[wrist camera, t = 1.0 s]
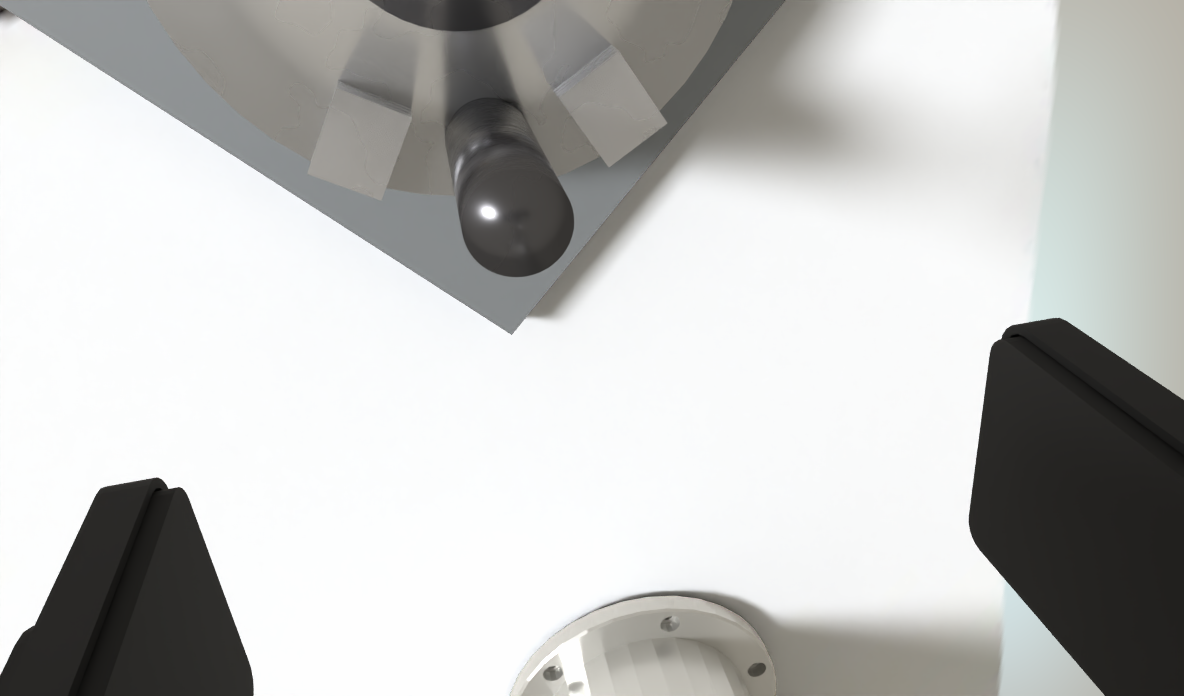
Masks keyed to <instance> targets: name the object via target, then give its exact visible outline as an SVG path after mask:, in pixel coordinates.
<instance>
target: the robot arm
mask: <svg viewBox="0 0 1184 696" xmlns="http://www.w3.org/2000/svg"><path fill="white" fill-rule="evenodd" d="M969 527H970V532H971V535H972V538H973V540H974V542H975V544H976V545H977V547H978V548H979V550H980V551H981V552H982V553H983V554H984V555H985V557H986V558H987V559H988V560H989V561H990V562H991V564H992V565H993V566H994V567H995V568H996V569H997V571H998V572H999V573H1000V574H1001V575H1002V576H1003V578H1004V579H1005V580H1006V581H1007V582H1008V583H1009V585H1010V586H1011V587H1012V588H1013V589H1014V590H1015V591H1016V593H1017V594H1018V595H1019V596H1020V597H1021V598H1022V600H1023V601H1024V602H1025V603H1026V604H1027V605H1028V607H1029V608H1030V609H1031V610H1032V611H1033V612H1034V614H1035V615H1036V616H1037V617H1038V618H1039V619H1040V621H1041V622H1042V623H1043V624H1044V625H1045V626H1046V628H1047V629H1048V630H1049V631H1050V632H1051V633H1052V635H1053V636H1054V637H1055V638H1056V639H1057V640H1058V642H1059V643H1060V644H1061V645H1062V646H1063V647H1064V649H1065V650H1066V651H1067V652H1068V653H1069V654H1070V655H1071V656H1072V658H1073V659H1074V660H1075V661H1076V662H1077V664H1078V665H1079V666H1080V667H1081V668H1082V669H1083V671H1084V672H1085V673H1086V674H1087V675H1088V676H1089V678H1090V679H1091V680H1092V681H1093V682H1094V683H1095V684H1096V686H1097V687H1098V688H1099V689H1100V690H1101V692H1102V693H1103V694H1104V695H1105V696H1184V400H1183V399H1181V398H1180V397H1178V396H1177V395H1175V394H1174V393H1172V392H1171V391H1170V390H1168V389H1167V388H1165V387H1164V386H1162V385H1161V384H1159V383H1158V382H1156V381H1155V380H1153V379H1152V378H1150V377H1149V376H1147V375H1146V374H1144V373H1143V372H1141V371H1139V370H1138V369H1137V368H1135V367H1134V366H1132V365H1131V364H1129V363H1128V362H1127V361H1125V360H1124V359H1122V358H1121V357H1119V356H1117V355H1116V354H1115V353H1113V352H1111V351H1110V350H1109V349H1107V348H1106V347H1104V346H1103V345H1101V344H1100V343H1098V342H1097V341H1095V340H1094V339H1092V338H1091V337H1089V336H1088V335H1086V334H1085V333H1083V332H1082V331H1081V330H1079V329H1078V328H1076V327H1075V326H1073V325H1072V324H1070V323H1069V322H1067V321H1065V320H1063V319H1061V318H1052V319H1046V320H1040V321H1034V322H1029V323H1023V324H1017V325H1012V326H1010V327H1009V328H1007V329H1006V330H1005V332H1004V334H1003V335H1002V339H1001V340H998V341H996V342H995V343H994V344H993V346H992V348H991V352H990V357H989V365H988V373H987V380H986V388H985V396H984V404H983V411H982V419H981V427H980V434H979V442H978V450H977V458H976V465H975V473H974V481H973V488H972V496H971V504H970V512H969ZM776 685H777V682H776V676H775V670H774V665H773V663H772V661H771V658H770V656H769V654H768V651H767V649H766V647H765V645H764V643H763V642H762V640H761V638H760V637H759V635H758V634H757V632H756V631H755V629H754V628H753V627H752V626H751V625H749V624H748V623H747V622H746V621H745V620H744V619H743V618H742V617H741V616H739V615H738V614H736V613H734V612H732V611H730V610H729V609H727V608H725V607H723V606H721V605H718V604H715V603H712V602H708V601H705V600H702V599H697V598H689V597H681V596H653V597H644V598H639V599H634V600H628V601H623V602H619V603H617V604H614V605H611V606H608V607H605V608H602V609H599V610H596V611H594V612H592V613H590V614H588V615H586V616H584V617H582V618H580V619H578V620H576V621H574V622H572V623H571V624H569V625H568V626H566V627H565V628H563V629H562V630H561V631H559V632H558V633H556V634H555V635H554V636H552V637H551V638H549V639H548V640H547V641H546V642H545V643H544V644H543V645H542V646H541V647H540V648H539V649H538V650H537V651H536V652H535V653H534V654H533V655H532V656H531V658H530V659H529V661H528V662H527V663H526V665H525V666H524V668H523V669H522V671H521V672H520V673H519V675H518V677H517V679H516V682H515V684H514V686H513V689H512V691H511V693H510V696H775V695H776ZM0 696H253V677H252V671H251V667H250V664H249V661H248V658H247V655H246V653H245V650H244V647H243V645H242V642H241V639H240V636H239V634H238V631H237V628H236V626H235V623H234V620H233V617H232V615H231V612H230V609H229V607H228V604H227V601H226V598H225V596H224V593H223V590H222V588H221V585H220V582H219V579H218V577H217V574H216V571H215V569H214V566H213V563H212V560H211V558H210V555H209V552H208V550H207V547H206V544H205V541H204V539H203V536H202V533H201V531H200V528H199V525H198V522H197V520H196V517H195V514H194V512H193V509H192V506H191V503H190V501H189V498H188V496H187V494H186V492H185V491H184V490H183V489H182V488H180V487H178V488H172V489H168V487H167V485H166V484H165V483H164V481H163V480H162V479H160V478H152V479H146V480H141V481H135V482H129V483H124V484H118V485H112V486H107V487H103V488H101V489H100V490H99V491H98V493H97V494H96V496H95V498H94V500H93V502H92V505H91V507H90V509H89V511H88V513H87V515H86V517H85V519H84V522H83V524H82V526H81V528H80V530H79V532H78V534H77V537H76V539H75V541H74V543H73V545H72V547H71V549H70V551H69V554H68V556H67V558H66V560H65V562H64V564H63V566H62V569H61V571H60V573H59V575H58V577H57V579H56V581H55V583H54V586H53V588H52V590H51V592H50V594H49V596H48V598H47V601H46V603H45V605H44V607H43V609H42V611H41V613H40V615H39V618H38V620H37V622H36V624H35V626H32V627H31V628H29V629H28V630H26V631H25V632H23V634H22V635H21V637H20V638H19V640H18V641H17V643H16V644H15V646H14V648H13V650H12V652H11V655H10V657H9V659H8V661H7V663H6V665H5V667H4V669H3V671H2V673H1V675H0Z"/></svg>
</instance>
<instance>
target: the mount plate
mask: <svg viewBox="0 0 1184 696" xmlns="http://www.w3.org/2000/svg"><path fill="white" fill-rule="evenodd" d="M784 1H785V0H733V1H732V4H731V6H730V9H729V11H728V14H727V16H726V18H725V20H724V22H723V24H722V25H721V27H720V29H719V31H718V33H717V34H716V36H715V38H714V40H713V42H712V44H711V45H710V47H709V49H708V51H707V53H706V54H705V55H704V57H703V58H702V60H701V61H700V62H699V64H698V65H697V67H696V68H695V69H694V71H693V72H692V74H691V75H690V76H689V78H688V79H687V81H686V82H685V83H684V85H683V86H682V87H681V88H680V89H679V90H678V91H677V92H676V93H675V94H674V96H673V97H672V98H671V99H670V100H669V101H668V102H667V103H666V104H665V105H664V107H663V108H662V109H661V110H660V113H661V114H662V116H663V117H664V119H665V120H666V122H667V124H666V125H665V126H663V127H662V128H661V129H659V130H658V131H657V132H655V133H654V134H653V135H651V136H650V137H649V138H647V139H646V140H645V141H643V142H642V143H641V144H639V145H638V146H637V147H635V148H634V149H633V150H632V151H630V152H629V153H628V154H626V155H625V156H624V157H622V158H621V159H620V160H618V161H617V162H616V163H614V164H613V165H612V166H610V167H608V166H607V164H606V163H605V162H604V160H603V159H602V157H601V156H600V157H598V158H596V159H594V160H592V161H590V162H588V163H586V164H584V165H582V166H580V167H578V168H576V169H574V170H572V171H570V172H568V173H566V174H563V175H560V176H557V178H558V179H559V181H560V183H561V185H562V187H563V189H564V191H565V192H566V194H567V196H568V198H569V200H570V202H571V205H572V208H573V213H574V231H573V235H572V238H571V241H570V244H569V245H568V247H567V249H566V251H565V252H564V254H563V255H562V256H561V257H560V258H559V259H558V261H556V262H555V263H554V264H553V265H552V266H550V267H549V268H547V269H546V270H544V271H542V272H540V273H537V274H534V275H530V276H526V277H507V276H502V275H499V274H496V273H493V272H491V271H489V270H487V269H486V268H484V267H483V266H482V265H480V264H479V263H478V262H477V261H476V260H475V259H474V258H473V257H472V255H471V254H470V252H469V251H468V249H467V247H466V245H465V242H464V239H463V235H462V230H461V225H460V220H459V214H458V209H457V204H456V199H455V196H448V195H425V194H417V193H411V192H405V191H399V190H393V189H387V188H386V190H385V192H384V195H383V198H382V200H378V199H375V198H372V197H370V196H367V195H364V194H361V193H358V192H356V191H353V190H350V189H347V188H345V187H342V186H339V185H336V184H333V183H331V182H328V181H325V180H322V179H320V178H317V177H314V176H311V175H308V174H307V173H308V169H309V166H310V163H311V161H309V160H307V159H306V158H304V157H302V156H300V155H299V154H297V153H295V152H294V151H292V150H290V149H289V148H287V147H285V146H283V145H282V144H280V143H278V142H277V141H275V140H273V139H272V138H270V137H269V136H268V135H266V134H265V133H264V132H262V131H261V130H260V129H259V128H257V127H256V126H255V125H253V124H252V123H251V122H249V121H248V120H247V119H245V118H244V117H243V116H241V115H240V114H239V113H238V112H237V111H235V110H234V109H233V108H232V107H231V106H230V105H229V104H228V103H227V102H226V101H225V100H224V99H223V98H222V97H221V96H220V95H219V94H218V93H217V92H215V91H214V90H213V89H212V88H211V87H210V86H209V85H208V84H207V83H206V82H205V81H204V79H203V78H202V77H201V76H200V75H199V73H198V72H197V71H196V70H195V69H194V67H193V66H192V65H191V64H190V63H189V61H188V60H187V59H186V58H185V57H184V55H183V54H182V53H181V52H180V51H179V49H178V48H177V47H176V46H175V44H174V42H173V41H172V39H171V38H170V36H169V35H168V33H167V32H166V30H165V29H164V27H163V26H162V24H161V23H160V21H159V20H158V18H157V17H156V15H155V14H154V12H153V11H152V9H151V8H150V6H149V4H148V2H147V0H0V6H2V7H4V8H5V9H7V10H8V11H10V12H11V13H13V14H14V15H16V16H18V17H19V18H21V19H22V20H24V21H25V22H27V23H28V24H30V25H32V26H33V27H35V28H36V29H38V30H39V31H41V32H42V33H44V34H46V35H47V36H49V37H50V38H52V39H53V40H55V41H56V42H58V43H59V44H61V45H63V46H64V47H66V48H67V49H69V50H70V51H72V52H73V53H75V54H77V55H78V56H80V57H81V58H83V59H84V60H86V61H87V62H89V63H91V64H92V65H94V66H95V67H97V68H98V69H100V70H101V71H103V72H105V73H106V74H108V75H109V76H111V77H112V78H114V79H115V80H117V81H118V82H120V83H122V84H123V85H125V86H126V87H128V88H129V89H131V90H132V91H134V92H136V93H137V94H139V95H140V96H142V97H143V98H145V99H146V100H148V101H150V102H151V103H153V104H154V105H156V106H157V107H159V108H160V109H162V110H164V111H165V112H167V113H168V114H170V115H171V116H173V117H174V118H176V119H177V120H179V121H181V122H182V123H184V124H185V125H187V126H188V127H190V128H191V129H193V130H195V131H196V132H198V133H199V134H201V135H202V136H204V137H205V138H207V139H209V140H210V141H212V142H213V143H215V144H216V145H218V146H219V147H221V148H223V149H224V150H226V151H227V152H229V153H230V154H232V155H233V156H235V157H236V158H238V159H240V160H241V161H243V162H244V163H246V164H247V165H249V166H250V167H252V168H254V169H255V170H257V171H258V172H260V173H261V174H263V175H264V176H266V177H268V178H269V179H271V180H272V181H274V182H275V183H277V184H278V185H280V186H282V187H283V188H285V189H286V190H288V191H289V192H291V193H292V194H294V195H295V196H297V197H299V198H300V199H302V200H303V201H305V202H306V203H308V204H309V205H311V206H313V207H314V208H316V209H317V210H319V211H320V212H322V213H323V214H325V215H327V216H328V217H330V218H331V219H333V220H334V221H336V222H337V223H339V224H341V225H342V226H344V227H345V228H347V229H348V230H350V231H351V232H353V233H354V234H356V235H358V236H359V237H361V238H362V239H364V240H365V241H367V242H368V243H370V244H372V245H373V246H375V247H376V248H378V249H379V250H381V251H382V252H384V253H386V254H387V255H389V256H390V257H392V258H393V259H395V260H396V261H398V262H400V263H401V264H403V265H404V266H406V267H407V268H409V269H410V270H412V271H414V272H415V273H417V274H418V275H420V276H421V277H423V278H424V279H426V280H427V281H429V282H431V283H432V284H434V285H435V286H437V287H438V288H440V289H441V290H443V291H445V292H446V293H448V294H449V295H451V296H452V297H454V298H455V299H457V300H459V301H460V302H462V303H463V304H465V305H466V306H468V307H469V308H471V309H473V310H474V311H476V312H477V313H479V314H480V315H482V316H483V317H485V318H486V319H488V320H490V321H491V322H493V323H494V324H496V325H497V326H499V327H500V328H502V329H504V330H505V331H507V332H508V333H510V334H511V335H512V334H513V333H514V331H515V330H516V329H517V328H518V327H519V325H520V324H521V323H522V322H523V320H524V319H525V318H526V317H527V316H528V314H529V313H530V312H531V311H532V309H533V308H534V307H535V306H536V305H537V303H538V302H539V301H540V300H541V298H542V297H543V296H544V295H545V294H546V292H547V291H548V290H549V289H550V287H551V286H552V285H553V284H554V283H555V281H556V280H557V279H558V278H559V276H560V275H561V274H562V273H563V272H564V270H565V269H566V268H567V267H568V265H569V264H570V263H571V262H572V261H573V259H574V258H575V257H576V256H577V254H578V253H579V252H580V251H581V250H582V248H583V247H584V246H585V245H586V243H587V242H588V241H589V240H590V238H591V237H592V236H593V235H594V234H595V232H596V231H597V230H598V229H599V227H600V226H601V225H602V224H603V223H604V221H605V220H606V219H607V218H608V216H609V215H610V214H611V213H612V212H613V210H614V209H615V208H616V207H617V205H618V204H619V203H620V202H621V201H622V199H623V198H624V197H625V196H626V194H627V193H628V192H629V191H630V190H631V188H632V187H633V186H634V185H635V183H636V182H637V181H638V180H639V179H640V177H641V176H642V175H643V174H644V172H645V171H646V170H647V169H648V168H649V166H650V165H651V164H652V163H653V161H654V160H655V159H656V158H657V157H658V155H659V154H660V153H661V152H662V150H663V149H664V148H665V147H666V146H667V144H668V143H669V142H670V141H671V139H672V138H673V137H674V136H675V135H676V133H677V132H678V131H679V130H680V128H681V127H682V126H683V125H684V124H685V122H686V121H687V120H688V119H689V117H690V116H691V115H692V114H693V113H694V111H695V110H696V109H697V108H698V106H699V105H700V104H701V103H702V102H703V100H704V99H705V98H706V97H707V95H708V94H709V93H710V92H711V91H712V89H713V88H714V87H715V86H716V84H717V83H718V82H719V81H720V79H721V78H722V77H723V76H724V75H725V73H726V72H727V71H728V70H729V68H730V67H731V66H732V65H733V64H734V62H735V61H736V60H737V59H738V57H739V56H740V55H741V54H742V53H743V51H744V50H745V49H746V48H747V46H748V45H749V44H750V43H751V42H752V40H753V39H754V38H755V37H756V35H757V34H758V33H759V32H760V31H761V29H762V28H763V27H764V26H765V24H766V23H767V22H768V21H769V20H770V18H771V17H772V16H773V15H774V13H775V12H776V11H777V10H778V9H779V7H780V6H781V5H782V4H783V2H784Z"/></svg>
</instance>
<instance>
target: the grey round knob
mask: <svg viewBox="0 0 1184 696" xmlns="http://www.w3.org/2000/svg"><path fill="white" fill-rule="evenodd" d="M732 1H733V0H147V2H148V4H149V6H150V8H151V9H152V11H153V12H154V14H155V15H156V17H157V18H158V20H159V21H160V23H161V24H162V26H163V27H164V29H165V30H166V32H167V33H168V35H169V36H170V38H171V39H172V41H173V42H174V44H175V46H176V47H177V48H178V49H179V51H180V52H181V53H182V54H183V55H184V57H185V58H186V59H187V60H188V61H189V63H190V64H191V65H192V66H193V67H194V69H195V70H196V71H197V72H198V73H199V75H200V76H201V77H202V78H203V79H204V81H205V82H206V83H207V84H208V85H209V86H210V87H211V88H212V89H213V90H214V91H215V92H217V93H218V94H219V95H220V96H221V97H222V98H223V99H224V100H225V101H226V102H227V103H228V104H229V105H230V106H231V107H232V108H233V109H234V110H235V111H237V112H238V113H239V114H240V115H241V116H243V117H244V118H245V119H247V120H248V121H249V122H251V123H252V124H253V125H255V126H256V127H257V128H259V129H260V130H261V131H262V132H264V133H265V134H266V135H268V136H269V137H270V138H272V139H273V140H275V141H277V142H278V143H280V144H282V145H283V146H285V147H287V148H289V149H290V150H292V151H294V152H295V153H297V154H299V155H300V156H302V157H304V158H306V159H307V160H309V161H311V163H310V166H309V169H308V173H307V174H308V175H311V176H314V177H317V178H320V179H322V180H325V181H328V182H331V183H333V184H336V185H339V186H342V187H345V188H347V189H350V190H353V191H356V192H358V193H361V194H364V195H367V196H370V197H372V198H375V199H378V200H382V198H383V195H384V192H385V190H386V188H387V189H393V190H399V191H405V192H411V193H417V194H425V195H448V196H455V199H456V204H457V209H458V214H459V220H460V225H461V230H462V235H463V239H464V242H465V245H466V247H467V249H468V251H469V252H470V254H471V255H472V257H473V258H474V259H475V260H476V261H477V262H478V263H479V264H480V265H482V266H483V267H484V268H486V269H487V270H489V271H491V272H493V273H496V274H499V275H502V276H507V277H526V276H530V275H534V274H537V273H540V272H542V271H544V270H546V269H547V268H549V267H550V266H552V265H553V264H554V263H555V262H556V261H558V259H559V258H560V257H561V256H562V255H563V254H564V252H565V251H566V249H567V247H568V245H569V244H570V241H571V238H572V235H573V231H574V213H573V208H572V205H571V202H570V200H569V198H568V196H567V194H566V192H565V191H564V189H563V187H562V185H561V183H560V181H559V179H558V178H557V176H560V175H563V174H566V173H568V172H570V171H572V170H574V169H576V168H578V167H580V166H582V165H584V164H586V163H588V162H590V161H592V160H594V159H596V158H598V157H600V156H601V157H602V159H603V160H604V162H605V163H606V164H607V166H608V167H610V166H612V165H613V164H614V163H616V162H617V161H618V160H620V159H621V158H622V157H624V156H625V155H626V154H628V153H629V152H630V151H632V150H633V149H634V148H635V147H637V146H638V145H639V144H641V143H642V142H643V141H645V140H646V139H647V138H649V137H650V136H651V135H653V134H654V133H655V132H657V131H658V130H659V129H661V128H662V127H663V126H665V125H666V124H667V122H666V120H665V119H664V117H663V116H662V114H661V113H660V110H661V109H662V108H663V107H664V105H665V104H666V103H667V102H668V101H669V100H670V99H671V98H672V97H673V96H674V94H675V93H676V92H677V91H678V90H679V89H680V88H681V87H682V86H683V85H684V83H685V82H686V81H687V79H688V78H689V76H690V75H691V74H692V72H693V71H694V69H695V68H696V67H697V65H698V64H699V62H700V61H701V60H702V58H703V57H704V55H705V54H706V53H707V51H708V49H709V47H710V45H711V44H712V42H713V40H714V38H715V36H716V34H717V33H718V31H719V29H720V27H721V25H722V24H723V22H724V20H725V18H726V16H727V14H728V11H729V9H730V6H731V4H732Z"/></svg>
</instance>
